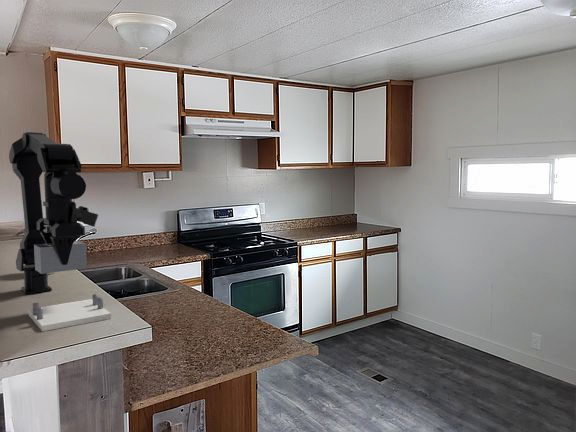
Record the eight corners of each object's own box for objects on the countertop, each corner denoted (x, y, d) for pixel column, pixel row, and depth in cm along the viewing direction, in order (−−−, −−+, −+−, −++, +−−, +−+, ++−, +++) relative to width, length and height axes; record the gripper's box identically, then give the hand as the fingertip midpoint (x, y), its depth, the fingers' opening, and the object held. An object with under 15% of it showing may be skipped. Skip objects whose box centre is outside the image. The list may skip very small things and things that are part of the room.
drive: (35, 269, 112) (34, 244, 111) (79, 264, 118) (78, 240, 118) (41, 273, 107) (40, 247, 107) (86, 268, 114) (86, 243, 113)
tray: (27, 314, 110) (27, 298, 110) (91, 303, 119) (91, 289, 119) (42, 331, 100) (41, 314, 99) (111, 318, 109) (110, 302, 108)
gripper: (106, 198, 109) (108, 264, 111) (82, 194, 124) (84, 253, 125) (54, 199, 102) (57, 270, 104) (34, 195, 117) (37, 258, 118)
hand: (61, 262), depth 113 cm, fingers closed on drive, 6 cm apart
